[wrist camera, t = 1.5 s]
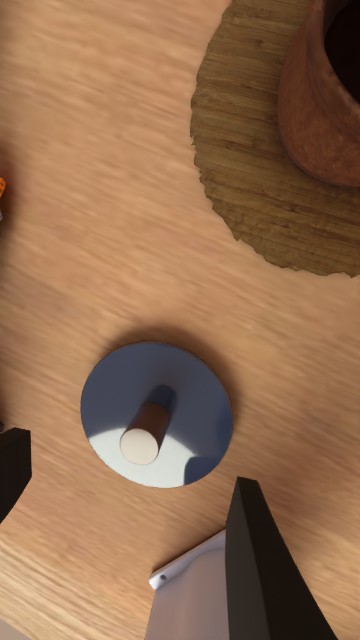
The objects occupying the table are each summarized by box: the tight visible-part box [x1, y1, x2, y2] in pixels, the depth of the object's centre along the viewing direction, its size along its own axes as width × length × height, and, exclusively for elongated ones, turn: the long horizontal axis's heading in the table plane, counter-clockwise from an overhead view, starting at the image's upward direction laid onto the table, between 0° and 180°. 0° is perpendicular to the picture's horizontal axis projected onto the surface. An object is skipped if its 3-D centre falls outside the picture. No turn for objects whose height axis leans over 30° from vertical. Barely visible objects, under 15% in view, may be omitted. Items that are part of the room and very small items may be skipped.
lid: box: [81, 341, 233, 488], centre depth 19 cm, size 11×11×4 cm
